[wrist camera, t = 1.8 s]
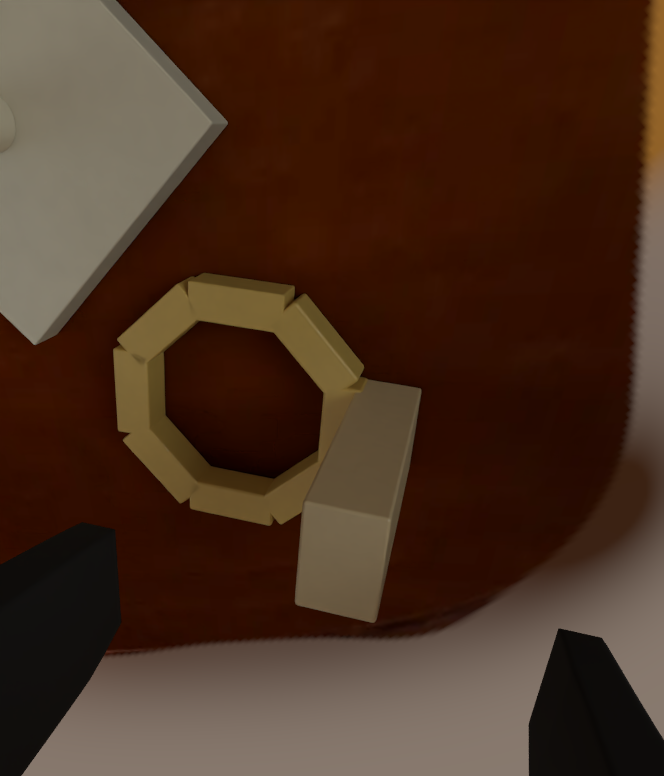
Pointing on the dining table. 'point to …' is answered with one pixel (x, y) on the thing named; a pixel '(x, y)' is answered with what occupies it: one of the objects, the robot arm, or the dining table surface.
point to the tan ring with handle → (310, 476)
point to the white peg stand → (84, 149)
